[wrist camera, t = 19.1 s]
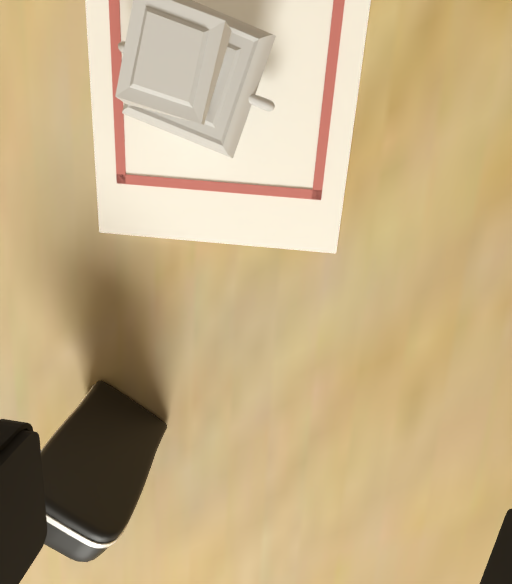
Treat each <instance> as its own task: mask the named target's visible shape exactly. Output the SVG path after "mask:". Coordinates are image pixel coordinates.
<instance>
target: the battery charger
mask: <svg viewBox="0 0 512 584" xmlns="http://www.w3.org/2000/svg"><path fill="white" fill-rule="evenodd" d="M166 428H167V425H166V424H165V423H164V422H163V421H161V420H160V419H159V418H157V417H156V416H154V415H153V414H152V413H150V412H149V411H147V410H146V409H145V408H143V407H142V406H140V405H139V404H137V403H136V402H134V401H133V400H131V399H130V398H128V397H127V396H125V395H124V394H122V393H121V392H119V391H118V390H116V389H114V388H113V387H111V386H110V385H108V384H106V383H105V382H103V381H98V382H97V383H96V384H94V385H93V386H92V388H91V389H90V391H89V392H88V393H87V395H86V396H85V398H84V399H83V400H82V402H81V403H80V404H79V406H78V407H77V408H76V409H75V410H74V411H73V412H72V414H71V415H70V416H69V417H68V418H67V419H66V420H65V421H64V423H63V424H62V425H61V426H60V427H59V428H58V430H57V431H56V432H55V433H54V434H53V435H52V437H51V438H50V439H49V440H48V442H47V443H46V444H45V446H44V447H43V448H42V450H41V462H42V473H43V484H44V496H45V507H46V518H47V536H46V539H45V542H44V544H45V545H47V546H49V547H51V548H52V549H54V550H56V551H58V552H60V553H61V554H63V555H65V556H67V557H68V558H70V559H73V560H75V561H79V562H88V561H91V560H94V559H95V558H97V557H98V556H99V555H100V554H102V553H103V552H104V551H105V550H106V549H107V548H108V547H109V546H110V545H112V544H113V543H115V542H116V540H117V539H118V538H119V537H120V536H121V535H122V533H123V532H124V530H125V528H126V526H127V524H128V522H129V520H130V517H131V515H132V513H133V511H134V509H135V507H136V504H137V502H138V500H139V497H140V495H141V492H142V490H143V487H144V485H145V482H146V479H147V477H148V474H149V471H150V468H151V465H152V462H153V459H154V456H155V453H156V451H157V448H158V446H159V444H160V441H161V439H162V437H163V435H164V433H165V430H166Z"/></svg>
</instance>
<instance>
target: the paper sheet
mask: <svg viewBox="0 0 512 584" xmlns="http://www.w3.org/2000/svg"><path fill="white" fill-rule="evenodd" d="M193 1H195V2H198V3H200V4H202V5H205V6H207V7H209V8H212V9H214V10H216V11H219V12H221V13H224V14H226V15H228V16H231V17H233V18H235V19H238V20H240V21H242V22H245V23H247V24H249V25H252V26H254V27H256V28H259V29H261V30H263V31H266V32H268V33H271V34H273V35H275V36H276V37H275V40H274V43H273V46H272V49H271V51H270V54H269V57H268V60H267V63H266V66H265V69H264V71H263V74H262V77H261V80H260V83H259V86H258V88H257V91H256V94H255V95H258V96H261V97H264V98H266V99H269V100H271V101H273V103H274V105H275V108H274V110H272V111H265V110H263V109H261V108H258V107H256V106H254V105H252V106H251V108H250V111H249V114H248V117H247V120H246V123H245V126H244V128H243V131H242V134H241V137H240V140H239V143H238V145H237V148H236V151H235V154H234V157H233V158H231V157H228V156H226V155H223V154H221V153H218V152H216V151H214V150H211V149H209V148H206V147H204V146H201V145H199V144H196V143H194V142H191V141H189V140H187V139H184V138H182V137H179V136H177V135H174V134H172V133H169V132H167V131H164V130H162V129H160V128H157V127H155V126H152V125H150V124H147V123H145V122H142V121H140V120H137V119H135V118H133V117H130V116H128V115H125V114H123V113H122V111H123V107H124V102H122V101H121V100H119V99H118V98H117V97H115V95H116V90H117V84H118V79H119V73H120V68H121V63H122V57H123V53H122V52H121V51H120V50H119V48H118V44H119V43H120V42H122V41H126V36H127V30H128V25H129V20H130V14H131V9H132V4H133V0H85V3H86V20H87V37H88V53H89V70H90V87H91V103H92V120H93V136H94V153H95V170H96V186H97V203H98V220H99V232H100V233H111V234H122V235H134V236H145V237H156V238H168V239H179V240H190V241H202V242H213V243H224V244H235V245H247V246H258V247H269V248H281V249H292V250H303V251H315V252H326V253H336V251H337V243H338V236H339V229H340V221H341V214H342V207H343V199H344V192H345V185H346V178H347V170H348V163H349V156H350V148H351V141H352V134H353V126H354V119H355V112H356V104H357V97H358V90H359V83H360V75H361V68H362V61H363V53H364V46H365V39H366V31H367V24H368V17H369V10H370V2H371V0H193Z"/></svg>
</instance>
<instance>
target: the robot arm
mask: <svg viewBox="0 0 512 584" xmlns="http://www.w3.org/2000/svg"><path fill="white" fill-rule="evenodd" d="M46 536H47V518H46V507H45V496H44V484H43V473H42V462H41V450H40V439H39V434H38V433H37V432H33V428H32V426H31V424H29V423H24V422H18V421H12V420H6V419H1V420H0V584H19V583H20V581H21V580H22V578H23V577H24V575H25V573H26V572H27V570H28V569H29V567H30V566H31V564H32V563H33V561H34V559H35V558H36V556H37V555H38V553H39V552H40V550H41V548H42V547H43V544H44V542H45V539H46ZM480 584H512V509H509V510H508V511H507V513H506V516H505V518H504V521H503V524H502V526H501V529H500V532H499V534H498V537H497V540H496V542H495V545H494V547H493V550H492V553H491V555H490V558H489V561H488V563H487V566H486V569H485V571H484V574H483V577H482V579H481V582H480Z"/></svg>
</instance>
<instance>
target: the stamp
mask: <svg viewBox="0 0 512 584" xmlns="http://www.w3.org/2000/svg"><path fill="white" fill-rule="evenodd" d="M275 37H276V36H275V35H273V34H271V33H268V32H266V31H263V30H261V29H259V28H256V27H254V26H252V25H249V24H247V23H245V22H242V21H240V20H238V19H235V18H233V17H231V16H228V15H226V14H224V13H221V12H219V11H216V10H214V9H212V8H209V7H207V6H205V5H202V4H200V3H198V2H195V1H193V0H133V4H132V9H131V14H130V20H129V25H128V30H127V36H126V41H122V42H120V43H119V44H118V48H119V50H120V51H121V52H122V53H123V57H122V63H121V68H120V73H119V79H118V84H117V90H116V95H115V97H117V98H118V99H119V100H121V101H122V102H124V107H123V111H122V113H123V114H125V115H128V116H130V117H133V118H135V119H137V120H140V121H142V122H145V123H147V124H150V125H152V126H155V127H157V128H160V129H162V130H164V131H167V132H169V133H172V134H174V135H177V136H179V137H182V138H184V139H187V140H189V141H191V142H194V143H196V144H199V145H201V146H204V147H206V148H209V149H211V150H214V151H216V152H218V153H221V154H223V155H226V156H228V157H231V158H233V157H234V154H235V151H236V148H237V145H238V143H239V140H240V137H241V134H242V131H243V128H244V126H245V123H246V120H247V117H248V114H249V111H250V108H251V106H252V105H254V106H256V107H258V108H261V109H263V110H265V111H272V110H274V108H275V105H274V103H273V101H271V100H269V99H266V98H264V97H261V96H258V95H255V94H256V91H257V88H258V86H259V83H260V80H261V77H262V74H263V71H264V69H265V66H266V63H267V60H268V57H269V54H270V51H271V49H272V46H273V43H274V40H275Z"/></svg>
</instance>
